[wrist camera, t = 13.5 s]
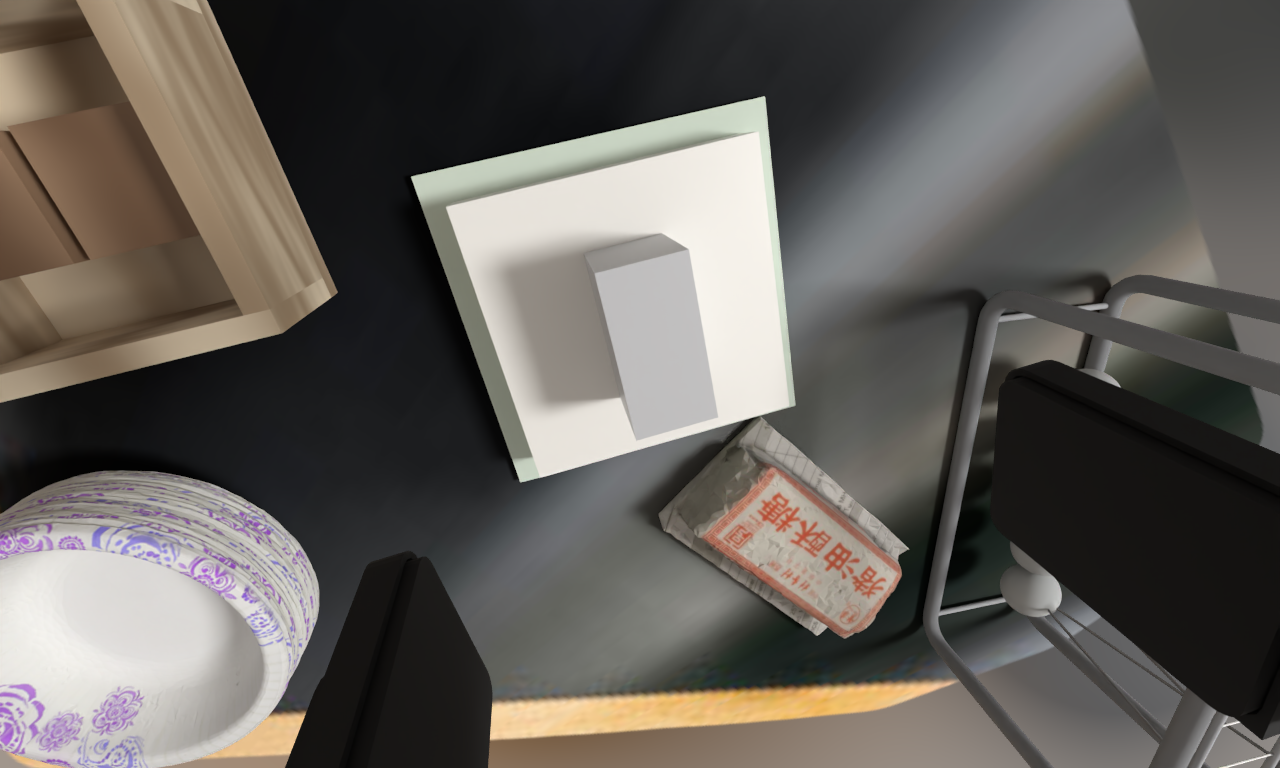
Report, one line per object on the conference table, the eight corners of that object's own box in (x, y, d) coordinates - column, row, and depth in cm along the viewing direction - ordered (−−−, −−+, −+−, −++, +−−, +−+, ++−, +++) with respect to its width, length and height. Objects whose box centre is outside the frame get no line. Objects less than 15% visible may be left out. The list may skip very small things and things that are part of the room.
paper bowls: (40, 640, 32) (-100, 779, 25) (28, 412, 28) (-149, 503, 20) (323, 660, 37) (273, 783, 29) (355, 465, 32) (304, 556, 25)
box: (202, -9, 23) (77, -72, 16) (337, 292, 28) (282, 333, 22) (-139, 56, 22) (-416, 16, 15) (70, 357, 27) (-71, 420, 21)
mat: (761, 96, 28) (764, 96, 28) (792, 403, 36) (795, 405, 35) (412, 176, 27) (410, 176, 26) (520, 479, 34) (520, 482, 34)
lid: (740, 133, 28) (807, 126, 22) (772, 389, 35) (832, 447, 28) (452, 202, 27) (427, 218, 20) (539, 455, 33) (542, 533, 27)
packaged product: (667, 560, 33) (785, 444, 32) (650, 512, 38) (754, 408, 36) (839, 672, 40) (943, 582, 39) (808, 621, 45) (901, 538, 43)
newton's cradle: (980, 283, 35) (1365, 394, 19) (1121, 267, 37) (1588, 357, 20) (916, 631, 47) (1118, 881, 31) (1024, 608, 48) (1271, 835, 32)
